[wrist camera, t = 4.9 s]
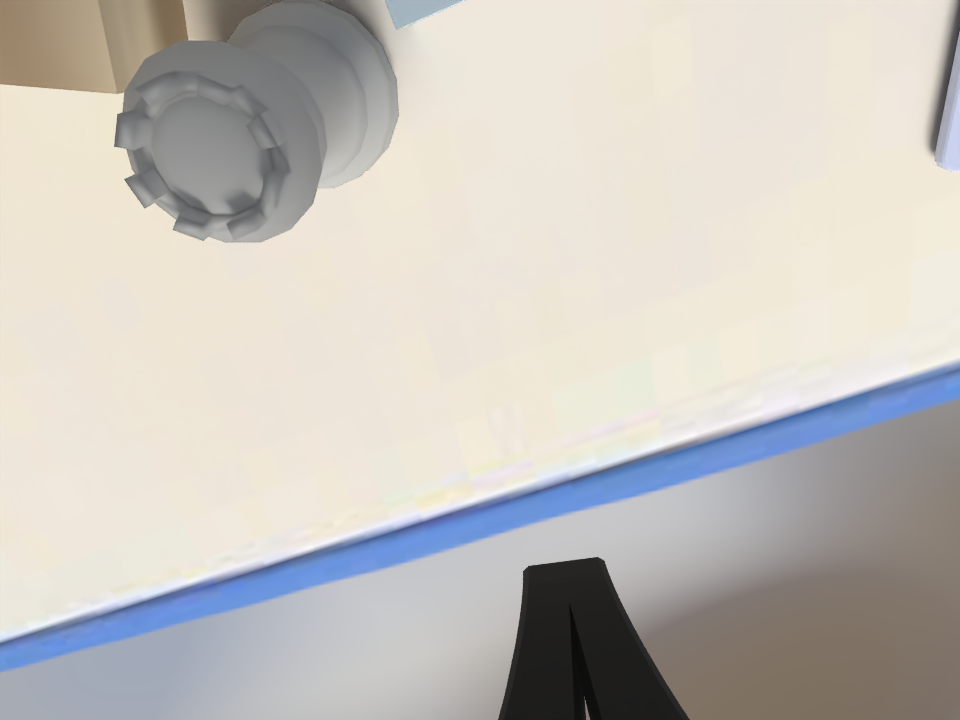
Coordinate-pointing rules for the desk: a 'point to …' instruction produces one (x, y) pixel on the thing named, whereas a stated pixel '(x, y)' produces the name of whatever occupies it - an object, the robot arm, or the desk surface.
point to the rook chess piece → (258, 120)
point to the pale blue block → (416, 10)
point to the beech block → (84, 41)
